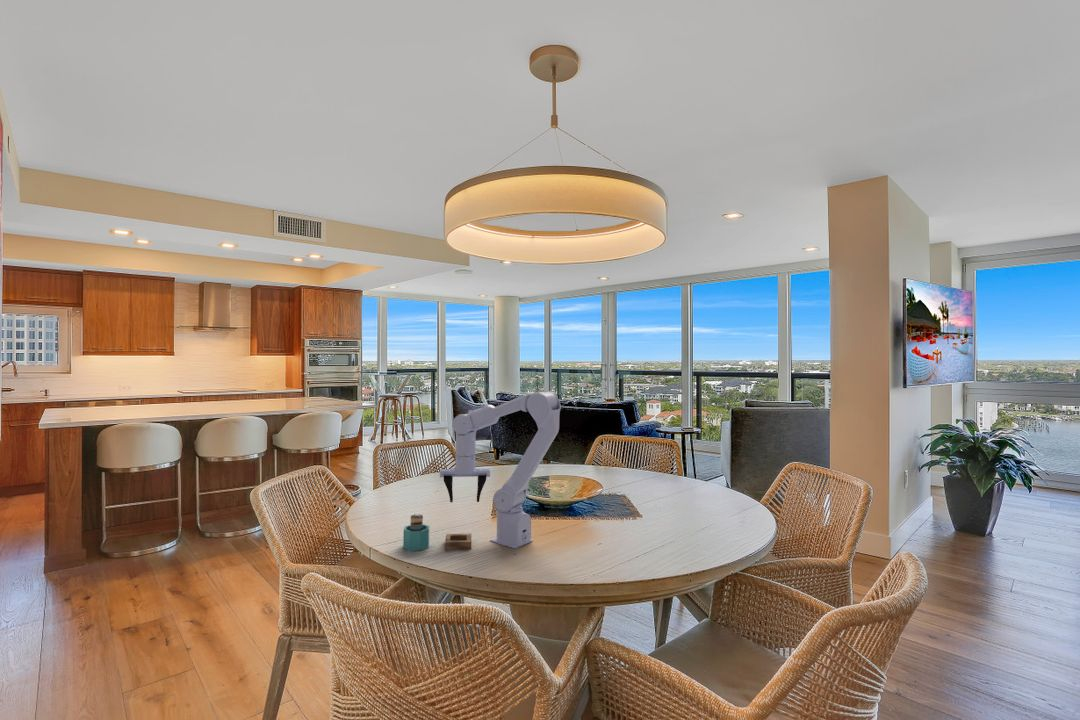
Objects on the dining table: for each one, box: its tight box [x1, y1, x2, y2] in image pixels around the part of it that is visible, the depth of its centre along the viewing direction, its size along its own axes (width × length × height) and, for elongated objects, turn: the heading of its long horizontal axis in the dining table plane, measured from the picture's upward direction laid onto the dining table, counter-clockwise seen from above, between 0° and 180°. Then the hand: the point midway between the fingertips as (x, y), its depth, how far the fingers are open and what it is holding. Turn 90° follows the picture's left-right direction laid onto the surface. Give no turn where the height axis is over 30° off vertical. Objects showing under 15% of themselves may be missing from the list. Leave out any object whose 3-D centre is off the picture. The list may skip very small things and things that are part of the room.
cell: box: [410, 513, 424, 531], centre depth 146 cm, size 3×3×8 cm
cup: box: [402, 523, 430, 552], centre depth 146 cm, size 7×7×5 cm
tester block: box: [444, 533, 472, 551], centre depth 147 cm, size 7×7×2 cm
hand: (464, 501), depth 157 cm, fingers open, 7 cm apart
